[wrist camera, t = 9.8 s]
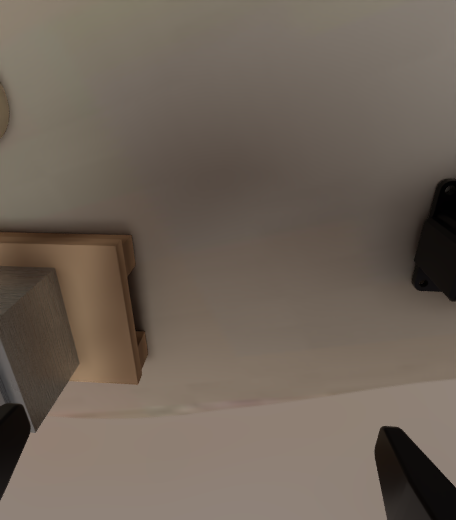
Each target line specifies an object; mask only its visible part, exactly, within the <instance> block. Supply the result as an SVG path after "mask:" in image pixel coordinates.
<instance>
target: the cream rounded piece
mask: <svg viewBox="0 0 456 520" xmlns="http://www.w3.org/2000/svg"><path fill="white" fill-rule="evenodd" d="M8 122H9V105H8V100H7V97H6V94H5V91H4V89H3V87H2V85H1V83H0V139H1V137H2V136H3V135H4V133H5V131H6V129H7V126H8Z"/></svg>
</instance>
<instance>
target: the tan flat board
mask: <svg viewBox="0 0 456 520" xmlns="http://www.w3.org/2000/svg"><path fill="white" fill-rule="evenodd" d="M135 265H136V264H135V257H134V249H133V242H132V235H103V234H61V233H20V232H0V266H17V267H49V268H55V270H56V274H57V277H58V281H59V285H60V289H61V293H62V297H63V301H64V305H65V309H66V312H67V316H68V320H69V324H70V328H71V332H72V336H73V340H74V343H75V347H76V351H77V355H78V359H79V363H80V364H79V365H78V367H77V369H76V370H75V372H74V373H73V375H72V376H71V378H70V380H69V381H80V382H98V383H117V384H136V385H138V383H139V381H140V378H141V376H142V371H141V370H142V367H143V365H144V362H145V360H146V357H147V355H148V351H147V343H146V336H145V332H144V331H135V325H134V319H133V312H132V306H131V299H130V293H129V286H128V280H127V277H128V275H129V274H130V272H131V271H132V269H133V268H134V266H135Z"/></svg>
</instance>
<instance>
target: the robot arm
mask: <svg viewBox="0 0 456 520" xmlns="http://www.w3.org/2000/svg"><path fill="white" fill-rule="evenodd" d="M448 186H452V189H451V190H450V192H448V193H445V190H446V188H447V187H448ZM414 261H415V263H416V266H415V270H414V274H413V278H412V284H413V286H414V287H415V288H416V289H417V290H419V291H438V292H443V293H444V294H445V295H446V297H447V298H448V299H449V300H450V301H452V302H456V179H445V180H443V181H441V182H440V183H439V184H438V186H437V188H436V192H435V196H434V199H433V203H432V207H431V211H430V214H429V217H428V218H427V219H426V220H425V221H424V225H423V229H422V232H421V236H420V240H419V244H418V247H417V251H416V255H415V259H414ZM422 280H425V281H424V283H422V284H419V282H420V281H422ZM30 431H31V424H30V421H29V419H28V416H27V414H26V411H25V408H24V406H23V405H22V404H17V403H6V404H3V405H1V406H0V500H1V498H2V496H3V494H4V492H5V489H6V487H7V485H8V483H9V481H10V478H11V476H12V474H13V471H14V469H15V467H16V464H17V462H18V460H19V458H20V455H21V453H22V451H23V448H24V446H25V444H26V442H27V439H28V437H29V434H30ZM375 461H376V466H377V471H378V476H379V481H380V485H381V491H382V496H383V501H384V506H385V511H386V515H387V520H456V488H455V486H454V485H453V484H452V483H451V482H450V481H449V480H448V479H447V478H446V477H445V476H444V474H443V473H442V472H441V471H440V470H439V469H438V468H437V467H436V466H435V465H434V464H433V463H432V462H431V460H430V459H429V458H428V457H427V456H426V455H425V454H424V453H423V452H422V451H421V450H420V449H419V448H418V446H416V444H415V443H414V442H413V441H412V440H411V439H410V438H409V437H408V436H407V434H406V433H405V432H404V431H403V430H402V429H400V428H399V427H391V426H383V427H381V428H380V431H379V434H378V438H377V442H376V445H375Z"/></svg>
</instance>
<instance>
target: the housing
mask: <svg viewBox="0 0 456 520" xmlns="http://www.w3.org/2000/svg"><path fill="white" fill-rule="evenodd" d="M79 364H80V363H79V359H78V355H77V351H76V347H75V343H74V340H73V336H72V332H71V328H70V324H69V320H68V316H67V312H66V309H65V305H64V301H63V297H62V293H61V289H60V285H59V281H58V277H57V274H56V270H55V268H49V267H17V266H0V406H1V405H3V404H6V403H17V404H22V405H23V406H24V408H25V411H26V414H27V416H28V419H29V421H30V424H31V431H30V432H34V433H35V432H36V431H37V430H38V428H39V426H40V425H41V423H42V422H43V420H44V419H45V417H46V416H47V414H48V412H49V411H50V409H51V408H52V406H53V405H54V403H55V401H56V400H57V398H58V397H59V395H60V394H61V392H62V391H63V389H64V387H65V386H66V384H67V383H68V381H69V380H70V378H71V376H72V375H73V373H74V372H75V370H76V369H77V367H78V365H79Z"/></svg>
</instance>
